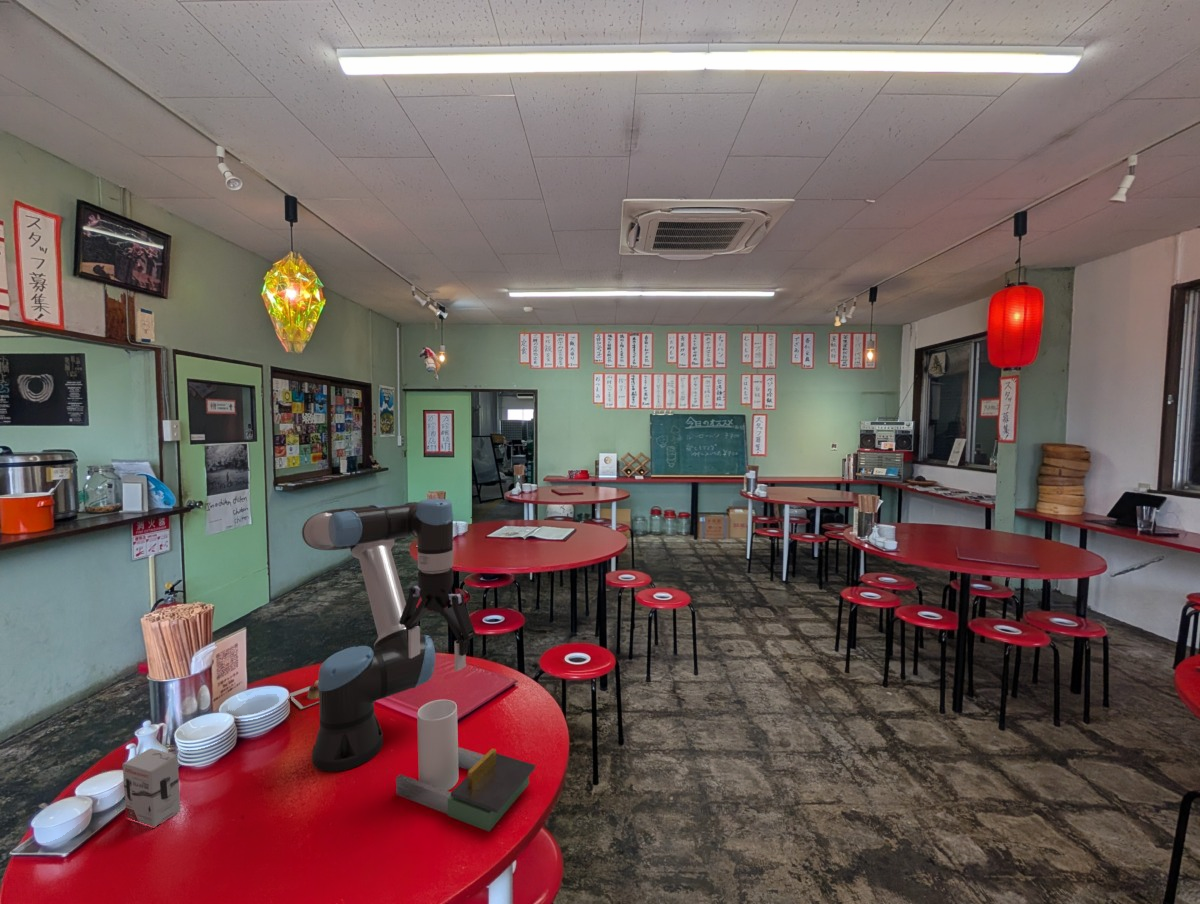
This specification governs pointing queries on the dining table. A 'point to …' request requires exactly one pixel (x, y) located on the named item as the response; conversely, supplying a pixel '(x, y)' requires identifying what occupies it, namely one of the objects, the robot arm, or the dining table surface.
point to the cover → (493, 781)
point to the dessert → (312, 694)
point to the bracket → (430, 793)
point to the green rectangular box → (480, 810)
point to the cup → (438, 744)
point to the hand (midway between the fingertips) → (436, 662)
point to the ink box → (151, 787)
